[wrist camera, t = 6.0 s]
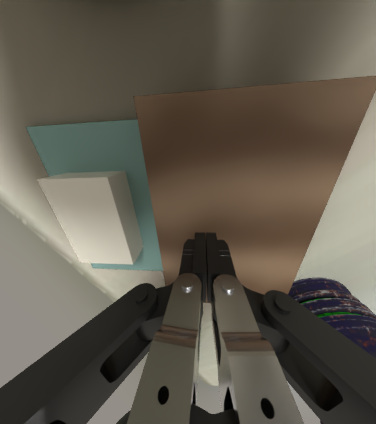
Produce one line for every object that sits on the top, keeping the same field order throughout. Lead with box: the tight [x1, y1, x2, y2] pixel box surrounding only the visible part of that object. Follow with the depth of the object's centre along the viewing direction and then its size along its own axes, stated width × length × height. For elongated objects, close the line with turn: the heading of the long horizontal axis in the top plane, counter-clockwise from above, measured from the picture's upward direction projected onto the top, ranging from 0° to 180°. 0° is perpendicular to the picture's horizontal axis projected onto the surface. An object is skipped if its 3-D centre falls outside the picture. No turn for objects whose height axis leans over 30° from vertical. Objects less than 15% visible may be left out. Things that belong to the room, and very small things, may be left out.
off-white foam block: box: [37, 171, 143, 265], centre depth 14 cm, size 9×6×3 cm, turn 3°
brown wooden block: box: [133, 76, 376, 303], centre depth 13 cm, size 18×12×4 cm, turn 3°
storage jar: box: [288, 278, 376, 424], centre depth 13 cm, size 10×10×15 cm
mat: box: [26, 119, 163, 271], centre depth 15 cm, size 17×11×1 cm, turn 3°
